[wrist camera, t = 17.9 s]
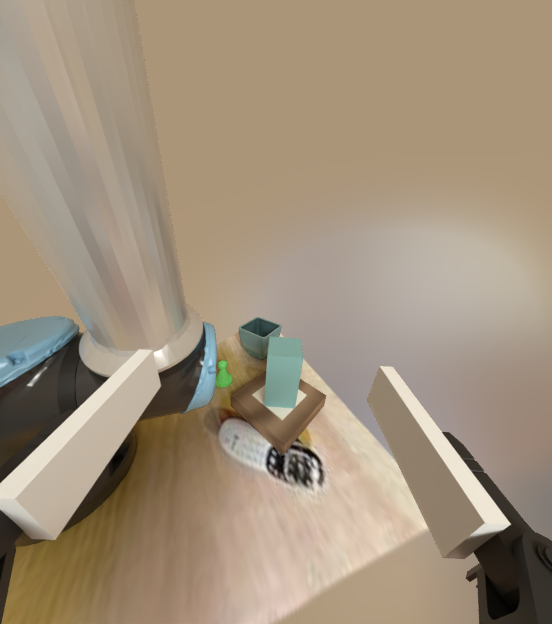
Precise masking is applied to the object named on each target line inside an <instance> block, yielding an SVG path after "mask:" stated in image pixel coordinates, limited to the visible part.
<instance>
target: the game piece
mask: <svg viewBox="0 0 552 624" xmlns="http://www.w3.org/2000/svg"><path fill="white" fill-rule="evenodd" d="M227 367H228V364H227V361H224V360H221V361H220V362H218V368H219V369H220V370H219V373H218V375H217V376H216V384H215V386H218V387H220V388H223V387H228V386H229V385H230V384H231V383H232V376H231V374H229V373H228V372H227V370H226V368H227Z"/></svg>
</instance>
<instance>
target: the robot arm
mask: <svg viewBox="0 0 552 624" xmlns="http://www.w3.org/2000/svg"><path fill="white" fill-rule="evenodd" d="M0 194H1V195H2V197H3V198H4V200H5V201H6V203H7V204H8V206H9V208H10V209H11V211H12V212H13V214H14V216H15V217H16V219H17V220H18V222H19V223H20V225H21V226H22V228H23V229H24V231H25V233H26V234H27V236H28V237H29V239H30V240H31V242H32V244H33V245H34V247H35V248H36V249H37V251H38V253H39V254H40V256H41V258H42V259H43V261H44V262H45V264H46V266H47V267H48V269H49V270H50V272H51V273H52V275H53V276H54V278H55V280H56V281H57V283H58V284H59V286H60V287H61V289H62V290H63V292H64V293H65V295H66V297H67V298H68V300H69V301H70V303H71V304H72V306H73V308H74V309H75V311H76V312H77V314H78V316H79V317H80V319H81V320H82V322H83V323H84V325H85V326H86V328H87V330H86V331H85V332H84V333H80V332H79V326H78V325H77V324H75V323H74V321H73V320H71V319H69V318H65V317H60V316H53V317H42V318H35V319H29V320H24V321H20V322H15V323H11V324H7V325H4V326H0V624H1V623H2V618H3V613H4V607H5V602H6V597H7V592H8V587H9V582H10V577H11V572H12V567H13V562H14V557H15V552H16V546H25V545H30V544H34V543H38V542H41V541H44V540H56V538H57V537H58V536H59V534H60V533H61V532H63V531H65V530H67V529H69V528H70V527H72V526H74V525H75V524H77V523H78V522H80V521H81V520H82V519H84V518H85V517H86V516H88V515H89V514H90V513H91V512H93V511H94V510H95V509H96V508H97V507H98V506H100V505H101V504H102V503H103V502H104V501H105V500H106V499H107V498H108V497H109V496H110V495H111V494H112V492H113V491H114V490H115V489H116V488H117V486H118V485H119V484H120V483H121V481H122V480H123V478H124V477H125V475H126V474H127V472H128V470H129V468H130V466H131V464H132V462H133V459H134V456H135V452H136V439H135V436H134V433H133V430H132V428H133V426H134V425H135V423H136V422H137V421H141V420H146V419H151V418H156V417H161V416H166V415H171V414H176V413H180V414H183V413H186V412H188V411H190V410H193V409H197V408H201V407H204V406H206V405H207V404H208V403H209V402H210V401H211V400H212V398H213V395H214V391H215V384H216V361H217V347H216V334H215V329H214V326H213V325H212V324H210V323H206V322H202V320H201V317H200V315H199V314H198V312H197V311H196V310H195V309H194V308H193V307H191V306H190V305H188V304H186V303H185V296H184V291H183V285H182V279H181V273H180V267H179V261H178V255H177V249H176V244H175V237H174V231H173V226H172V220H171V214H170V208H169V202H168V196H167V190H166V184H165V179H164V172H163V166H162V161H161V155H160V149H159V143H158V137H157V131H156V126H155V120H154V113H153V108H152V102H151V96H150V90H149V84H148V78H147V72H146V66H145V60H144V55H143V48H142V43H141V37H140V31H139V25H138V19H137V13H136V7H135V1H134V0H0ZM367 401H368V403H369V405H370V407H371V409H372V411H373V413H374V415H375V417H376V420H377V422H378V424H379V426H380V428H381V430H382V432H383V434H384V436H385V438H386V440H387V443H388V445H389V447H390V449H391V451H392V453H393V455H394V457H395V459H396V461H397V463H398V465H399V468H400V470H401V472H402V474H403V476H404V478H405V480H406V482H407V484H408V486H409V488H410V490H411V493H412V495H413V497H414V499H415V501H416V503H417V505H418V507H419V509H420V511H421V513H422V515H423V518H424V520H425V522H426V524H427V526H428V528H429V530H430V532H431V534H432V536H433V538H434V541H435V543H436V545H437V547H438V549H439V551H440V553H441V555H442V557H443V558H455V559H465V558H466V557H468V556H469V555H470V554H472V553H473V552H474V554H475V555H476V557H477V559H478V561H479V562H480V564H478V565H477V566H475V567H474V568H472V569H471V570H469V571H468V572H467V576H466V579H467V580H468V581H469V582H471V581H472V580H474V579H475V578H477V580H478V584H477V586H476V587H477V588H478V604H479V624H552V541H551V540H549V539H548V538H546V537H544V536H542V535H540V534H538V533H535V532H534V531H533V530H532V529H531V528H530V527H529V525H528V524H527V523H526V522H525V521H524V520H523V518H521V516H520V515H519V514H518V512H517V511H516V510H515V509H514V507H513V506H512V505H511V504H510V502H509V501H508V500H507V499H506V497H505V496H504V495H503V494H502V493H501V491H500V490H499V489H498V487H497V486H496V485H495V484H494V482H493V481H492V480H491V479H490V478H489V476H488V475H487V474H486V473H484V470H483V469H482V468H481V466H480V465H479V464H478V463H477V461H475V460H474V458H473V456H472V455H471V454H470V453H469V451H468V450H467V449H466V448H465V446H464V445H463V444H462V443H461V442H459V441H458V440H457V439H456V438H455V437H454V436H453V435H451V434H450V433H449V432H441V431H440V430H439V428H438V427H437V425H436V424H435V423H434V421H433V420H432V419H431V417H430V416H429V415H428V413H427V412H426V411H425V409H424V408H423V407H422V405H421V404H420V403H419V401H418V400H417V399H416V397H415V396H414V395H413V393H412V392H411V391H410V389H409V388H408V387H407V385H406V384H405V383H404V381H403V380H402V379H401V377H400V376H399V375H398V374H397V372H396V371H395V369H394V368H393V367H383V366H380V367H379V370H378V372H377V375H376V377H375V380H374V382H373V385H372V388H371V390H370V393H369V395H368V398H367Z"/></svg>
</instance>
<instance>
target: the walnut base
mask: <svg viewBox="0 0 552 624" xmlns="http://www.w3.org/2000/svg"><path fill="white" fill-rule="evenodd" d="M265 384H266V372H264V373H263V374H261V375H260V376H258V377H257V378H255V379H254V380H253V381H251V382H250V383H248V384H247V385H245V386H244V387H242V388H241V389H240V390H238V391H237V392H235V393H234V394H232V395H231V406H232V407H233V408H234V409H235V410H236V411H237V412H238V413H239V414H240V415H241V416H242V417H243V418H244V419H245V420H246V421H247V422H249V423H250V424H251V425H252V426H253V427H254V428H255V429H256V430H257V431H258V432H259V433H260V434H261V435H262V436H263V437H264V438H265V439H266V440H267V441H268V442H269V443H270V444H271V445H272V446H274V447H275V448H276V449H277V450H278V451H279V452H280V453H281V454H282V455H284V454H285V453H286V451H287V450H288V449H289V448H290V446H291V445H292V444H293V443H294V442H295V440H296V439H297V438H298V437H299V435H300V434H301V433H302V432H303V430H304V429H305V428H306V427H307V426H308V424H309V423H310V422H311V421H312V419H313V418H314V417H315V416H316V415H317V413H318V412H319V411H320V410H321V408H322V407H323V406H324V403H325V399H326V395H325V394H323V393H321V392H320V391H318V390H317V389H315V388H314V387H312V386H310V385H309V384H307V383H306V382H304V381H302V380H301V379H300V381H299V387H298V394H297V400H296V406H295V409H294V408H281V407H269V406H264V399H265Z"/></svg>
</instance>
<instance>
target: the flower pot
mask: <svg viewBox="0 0 552 624" xmlns="http://www.w3.org/2000/svg"><path fill="white" fill-rule="evenodd" d="M280 331H281V325H279V324H277V323H274V322H271V321H268V320H265V319H262V318H260V317H256V318H254V319H253V320H251V321H249V322H248V323H246V324H244V325H242V326H240V327H239V333H240V339H241V343H242V346H243V348H244V349H245V351H246V352H247V353H248V354H250V355H252V356H254V357H256V358H258V359H260V360H262V359H264V358H265V357H266V356H267V355H268V346H269V338H270V336H271V337H279V336H280Z"/></svg>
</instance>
